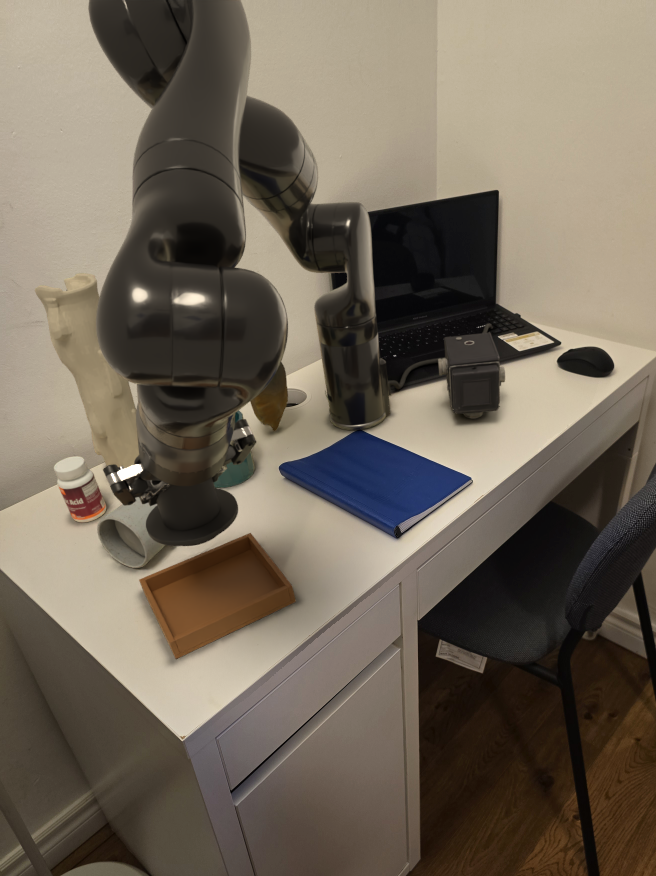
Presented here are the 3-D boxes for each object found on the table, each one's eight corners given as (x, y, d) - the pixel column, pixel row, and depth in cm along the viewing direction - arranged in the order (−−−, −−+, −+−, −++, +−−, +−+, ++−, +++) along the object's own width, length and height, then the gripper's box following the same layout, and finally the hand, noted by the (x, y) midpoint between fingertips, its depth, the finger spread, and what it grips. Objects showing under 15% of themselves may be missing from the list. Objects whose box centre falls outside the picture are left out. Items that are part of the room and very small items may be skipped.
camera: (436, 398, 115) (444, 432, 102) (432, 334, 109) (440, 361, 96) (497, 392, 114) (513, 426, 101) (496, 327, 109) (513, 354, 96)
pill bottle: (65, 520, 93) (42, 471, 88) (88, 501, 96) (67, 452, 91) (92, 525, 91) (70, 475, 86) (114, 505, 95) (94, 456, 90)
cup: (243, 453, 103) (230, 401, 98) (263, 474, 98) (250, 421, 92) (194, 471, 100) (179, 419, 95) (212, 494, 95) (196, 440, 89)
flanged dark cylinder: (223, 492, 76) (203, 423, 70) (255, 533, 69) (236, 459, 64) (141, 524, 72) (114, 453, 67) (166, 570, 65) (138, 495, 60)
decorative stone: (269, 416, 113) (251, 333, 104) (302, 418, 111) (287, 333, 103) (247, 445, 105) (226, 358, 97) (282, 447, 104) (264, 358, 95)
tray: (254, 547, 83) (250, 532, 82) (296, 601, 75) (292, 585, 73) (145, 595, 78) (138, 579, 77) (175, 659, 69) (169, 643, 68)
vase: (119, 492, 97) (40, 291, 80) (93, 473, 103) (15, 281, 85) (169, 466, 102) (105, 271, 85) (142, 450, 107) (77, 263, 90)
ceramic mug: (193, 534, 87) (177, 486, 83) (154, 573, 81) (134, 524, 77) (131, 522, 91) (112, 475, 87) (89, 559, 85) (67, 511, 81)
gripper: (247, 362, 57) (229, 431, 72) (77, 415, 51) (96, 477, 67) (284, 439, 56) (257, 492, 71) (115, 501, 50) (125, 544, 66)
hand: (179, 485), depth 69 cm, fingers closed on flanged dark cylinder, 6 cm apart
